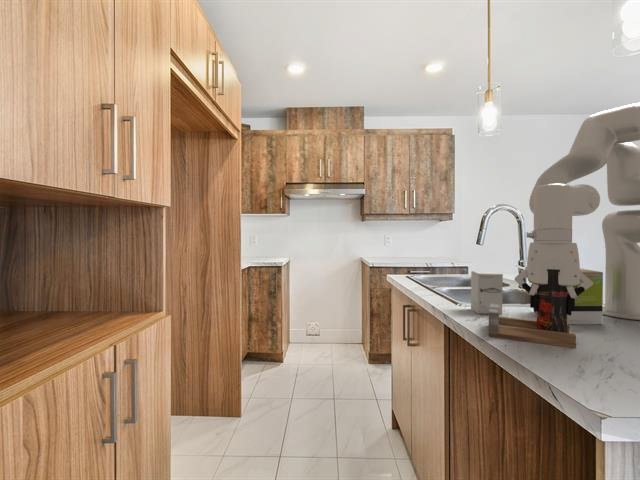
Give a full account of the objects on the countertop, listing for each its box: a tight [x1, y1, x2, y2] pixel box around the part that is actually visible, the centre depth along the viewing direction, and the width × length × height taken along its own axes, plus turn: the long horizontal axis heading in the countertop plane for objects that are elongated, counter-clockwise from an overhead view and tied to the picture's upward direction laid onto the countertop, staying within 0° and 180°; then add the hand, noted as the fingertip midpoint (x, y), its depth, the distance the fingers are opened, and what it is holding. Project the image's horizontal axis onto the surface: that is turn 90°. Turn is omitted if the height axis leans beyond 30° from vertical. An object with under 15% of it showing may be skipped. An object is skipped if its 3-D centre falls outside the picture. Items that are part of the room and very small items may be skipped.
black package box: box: [536, 269, 567, 333], centre depth 79 cm, size 6×6×15 cm
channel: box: [488, 303, 577, 349], centre depth 82 cm, size 12×17×6 cm
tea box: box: [536, 267, 604, 325], centre depth 98 cm, size 15×10×15 cm, turn 177°
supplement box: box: [470, 270, 504, 316], centre depth 106 cm, size 7×7×13 cm
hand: (551, 311), depth 79 cm, fingers closed on black package box, 5 cm apart
